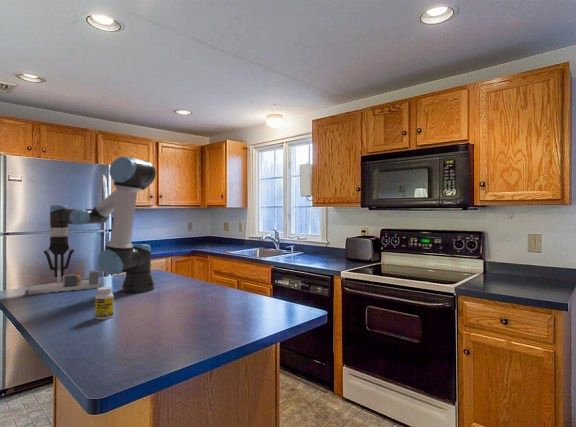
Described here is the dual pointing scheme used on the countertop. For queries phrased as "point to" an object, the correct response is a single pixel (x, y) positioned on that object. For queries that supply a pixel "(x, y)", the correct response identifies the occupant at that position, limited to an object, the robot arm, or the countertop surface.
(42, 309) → the countertop surface
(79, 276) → the orange peg piece
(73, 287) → the gauge board
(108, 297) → the pill bottle
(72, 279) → the grey block with rod
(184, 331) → the countertop surface
